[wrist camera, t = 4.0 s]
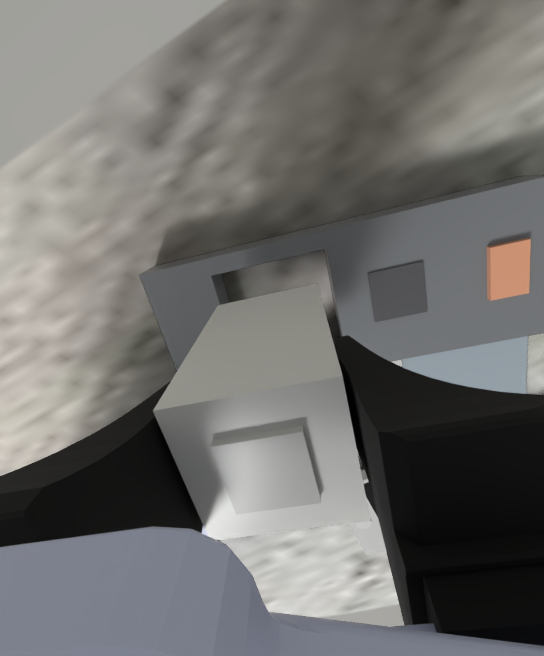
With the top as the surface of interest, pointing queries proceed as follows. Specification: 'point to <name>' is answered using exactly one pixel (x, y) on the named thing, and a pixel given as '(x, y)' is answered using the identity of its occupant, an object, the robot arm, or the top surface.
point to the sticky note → (478, 366)
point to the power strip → (394, 273)
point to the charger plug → (265, 420)
